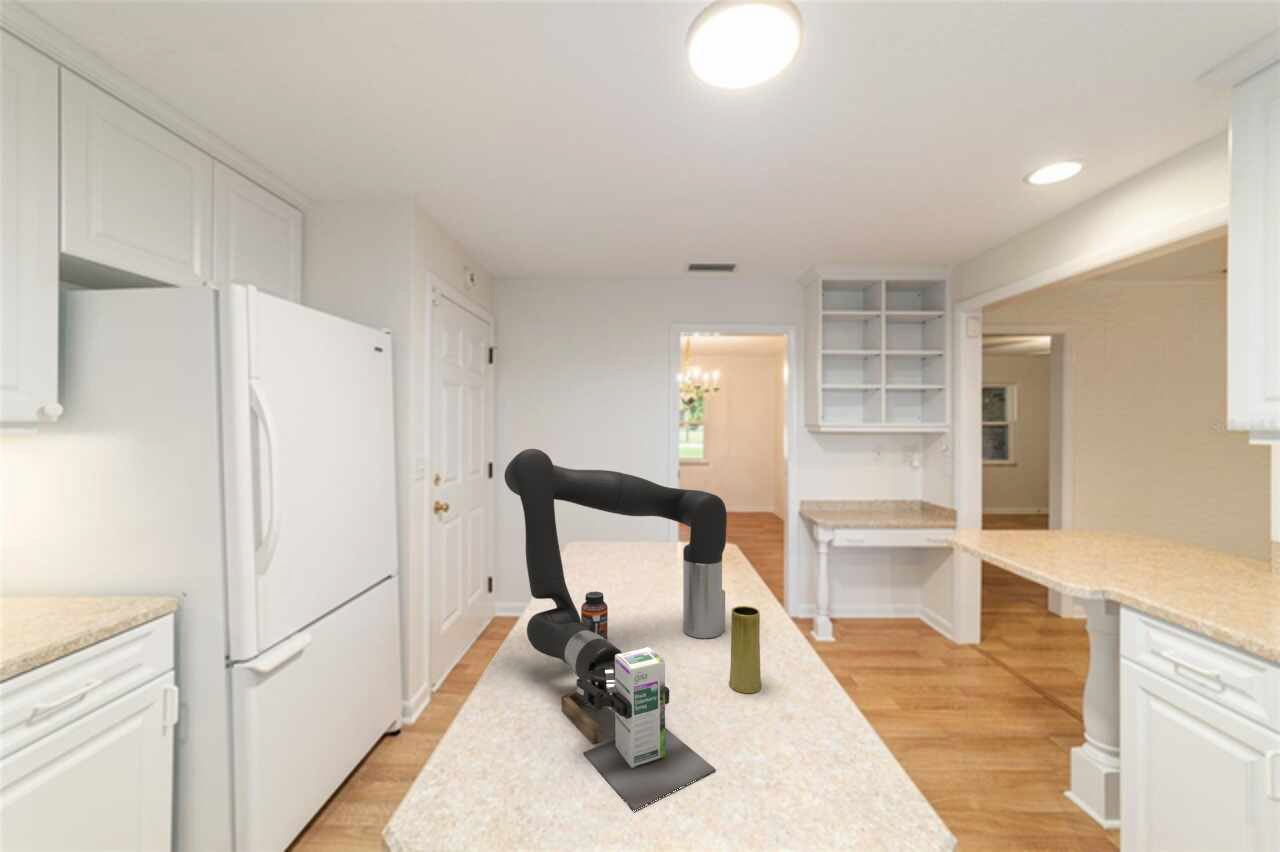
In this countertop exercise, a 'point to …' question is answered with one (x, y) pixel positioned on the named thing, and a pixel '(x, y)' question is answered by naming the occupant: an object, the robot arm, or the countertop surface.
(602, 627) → the supplement bottle
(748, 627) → the vase
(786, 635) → the countertop surface
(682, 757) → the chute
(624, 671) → the syrup box
